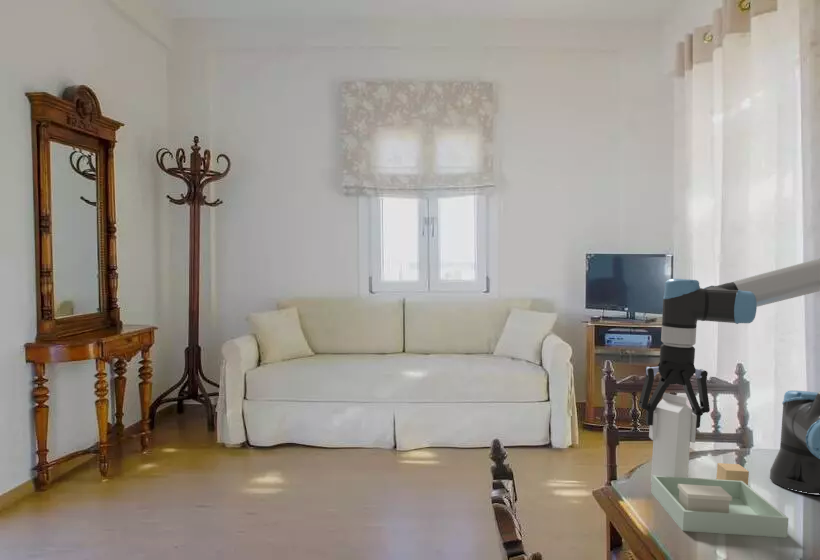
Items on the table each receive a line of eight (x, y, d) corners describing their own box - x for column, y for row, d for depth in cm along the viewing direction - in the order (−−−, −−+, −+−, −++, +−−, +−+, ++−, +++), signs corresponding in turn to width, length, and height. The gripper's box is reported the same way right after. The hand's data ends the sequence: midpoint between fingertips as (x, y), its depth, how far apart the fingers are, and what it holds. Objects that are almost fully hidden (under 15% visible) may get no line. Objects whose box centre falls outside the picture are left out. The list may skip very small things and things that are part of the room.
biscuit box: (737, 489, 153) (739, 464, 153) (747, 497, 148) (748, 471, 148) (715, 487, 153) (717, 463, 153) (724, 495, 148) (726, 470, 148)
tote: (740, 500, 146) (742, 480, 145) (786, 540, 126) (788, 518, 125) (650, 494, 147) (652, 475, 147) (682, 533, 127) (683, 511, 127)
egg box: (718, 518, 134) (720, 486, 133) (729, 530, 128) (732, 496, 128) (675, 515, 134) (677, 483, 134) (685, 527, 128) (687, 494, 128)
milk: (673, 493, 148) (679, 399, 147) (649, 485, 153) (655, 393, 152) (687, 488, 152) (693, 396, 151) (664, 480, 157) (669, 391, 155)
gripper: (717, 344, 154) (711, 437, 155) (627, 340, 155) (622, 432, 156) (730, 349, 146) (724, 447, 147) (636, 344, 147) (630, 441, 149)
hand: (671, 439), depth 152 cm, fingers closed on milk, 8 cm apart
